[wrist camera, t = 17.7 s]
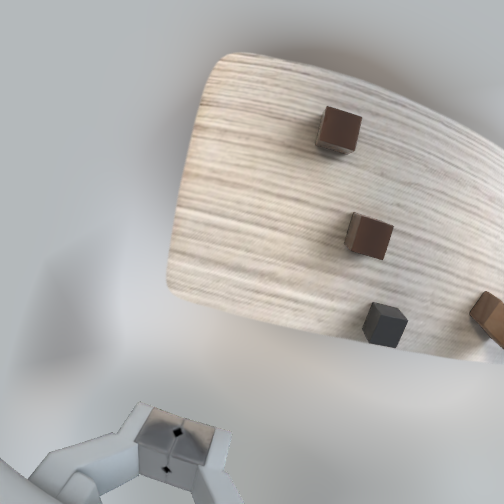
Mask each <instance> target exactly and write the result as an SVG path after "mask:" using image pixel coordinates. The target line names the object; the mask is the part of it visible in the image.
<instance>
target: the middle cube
mask: <svg viewBox="0 0 504 504" xmlns="http://www.w3.org/2000/svg"><path fill="white" fill-rule="evenodd" d="M393 227H394V226H393V225H390V224H388V223H385V222H383V221H380V220H377V219H374V218H371V217H368V216H365V215H361V214H358V213H355V212H353V216H352V219H351V223H350V226H349V229H348V233H347V236H346V239H345V243H344V244H345V245H346V246H347V247H348V248H349V249H350V250H351V251H353V252H357V253H360V254H363V255H367V256H370V257H374V258H377V259H380V260H383V259H384V256H385V253H386V250H387V247H388V243H389V240H390V237H391V234H392V231H393Z"/></svg>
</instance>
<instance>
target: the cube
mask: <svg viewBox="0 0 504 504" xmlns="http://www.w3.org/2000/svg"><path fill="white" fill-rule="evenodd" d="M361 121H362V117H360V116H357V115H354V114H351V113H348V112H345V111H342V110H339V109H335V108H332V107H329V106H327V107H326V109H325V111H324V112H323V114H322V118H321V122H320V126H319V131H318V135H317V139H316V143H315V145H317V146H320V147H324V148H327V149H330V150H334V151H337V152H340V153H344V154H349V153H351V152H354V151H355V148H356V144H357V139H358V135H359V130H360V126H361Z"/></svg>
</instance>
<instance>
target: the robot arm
mask: <svg viewBox="0 0 504 504" xmlns="http://www.w3.org/2000/svg"><path fill="white" fill-rule="evenodd" d="M215 428H216V429H215ZM231 437H232V431H228V430H225V429H221V428H217V427H214V426H210V425H207V424H203V423H200V422H196V421H193V420H190V419H187V418H182V417H179V416H177V415H174V414H171V413H169V412H166V411H163V410H161V409H158V408H156V407H153V406H150V405H148V404H145V403H143V402H138V403H137V404H136V405H135V407H134V408H133V410H132V411H131V413H130V414H129V416H128V417H127V419H126V420H125V422H124V423H123V425H122V427H121V428H120V429H119V431H118V432H117V434H115V433H113V432H112V433H109V434H106V435H103V436H100V437H97V438H94V439H91V440H88V441H85V442H82V443H79V444H76V445H73V446H69V447H66V448H63V449H59V450H56V451H52V452H49V454H48V455H47V456H46V457H45V459H44V460H43V461H42V462H41V463H40V465H39V466H38V467H37V468H36V469H35V471H34V472H33V473H32V474H31V476H30V477H29V478H28V479H26V478H24V477H23V476H22V475H20V474H19V473H18V472H17V471H16V470H14V469H13V468H12V467H11V466H9V465H8V464H7V463H6V462H4V461H3V460H2V459H1V458H0V504H102V501H101V499H100V496H101V495H103V494H105V493H107V492H109V491H111V490H113V489H115V488H117V487H119V486H121V485H122V484H124V483H126V482H128V481H130V480H132V479H134V478H135V477H137V476H139V474H141V475H144V476H146V477H149V478H152V479H155V480H158V481H161V482H164V483H166V484H170V485H172V486H175V487H178V488H181V489H184V490H187V491H190V492H191V494H192V497H193V499H194V502H195V504H245V503H244V501H243V499H242V498H241V496H240V494H239V492H238V490H237V488H236V486H235V485H234V483H233V481H232V479H231V477H230V475H229V473H227V472H224V467H225V462H226V459H227V454H228V450H229V446H230V442H231Z"/></svg>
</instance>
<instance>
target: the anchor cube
mask: <svg viewBox="0 0 504 504" xmlns="http://www.w3.org/2000/svg"><path fill="white" fill-rule="evenodd" d="M407 323H408V320H407V318H406V317H405V316H404V315H403V314H402V312H401V311H400V310H399V309H398V308H395V307H391V306H387V305H383V304H379V303H375V302H373V303H372V305H371V308H370V310H369V313H368V316H367V318H366V320H365V323H364V325H363V328H362V329H363V331H364V334H365V336H366V338H367V340H368V342H369V343H371V344H376V345H381V346H387V347H392V348H396V347H397V345H398V342H399V340H400V338H401V336H402V334H403V332H404V329H405V327H406V325H407Z"/></svg>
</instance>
